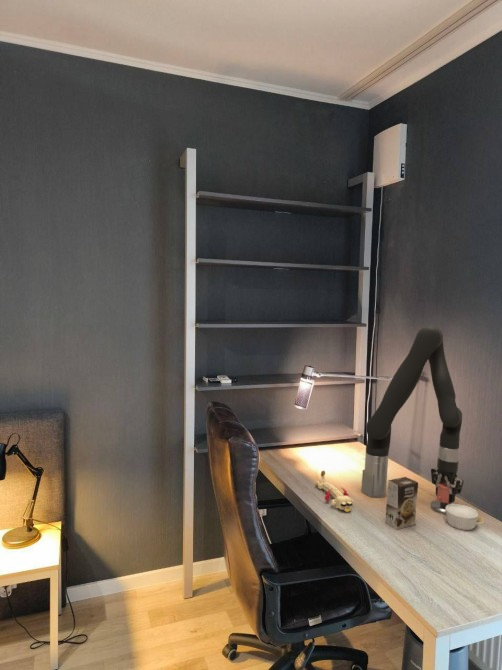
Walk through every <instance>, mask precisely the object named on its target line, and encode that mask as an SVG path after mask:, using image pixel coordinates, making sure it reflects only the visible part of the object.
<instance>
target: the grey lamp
mask: <svg viewBox="0 0 502 670" xmlns="http://www.w3.org/2000/svg"><path fill="white" fill-rule="evenodd" d="M449 504H453V503H442V502H440V501H438V500H433V501H431V502H430V508H431V510H432V511H434V512H436V513H438V514H441V515H446V510H445V508H446V506H447V505H449Z"/></svg>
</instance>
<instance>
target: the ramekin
mask: <svg viewBox="0 0 502 670" xmlns="http://www.w3.org/2000/svg"><path fill="white" fill-rule="evenodd" d="M445 510H446V517H445V518H446V521H447V523H448V524H449V525H450V526H451V527H453V528H456V529H459V530H464V531H470V530H472V529H474V528H476V525H477V521H478V519H479V513H478V511H477V510H476V509H474V508H472V507H470V506H467V505H463V504H460V503H459V504H458V503H452V504H449V505H447V506H446V508H445Z"/></svg>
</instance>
